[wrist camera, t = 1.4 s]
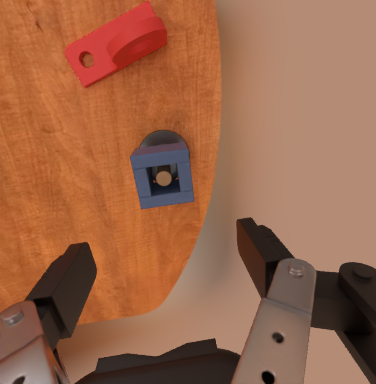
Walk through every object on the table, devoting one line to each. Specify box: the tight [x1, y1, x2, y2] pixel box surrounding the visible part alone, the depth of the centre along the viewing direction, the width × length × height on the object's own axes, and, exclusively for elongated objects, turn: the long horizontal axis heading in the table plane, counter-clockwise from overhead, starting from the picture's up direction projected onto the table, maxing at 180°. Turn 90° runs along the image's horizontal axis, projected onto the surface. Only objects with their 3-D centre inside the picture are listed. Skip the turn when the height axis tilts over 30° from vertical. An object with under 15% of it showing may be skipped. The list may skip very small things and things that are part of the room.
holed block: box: [130, 142, 194, 209], centre depth 24 cm, size 6×6×4 cm
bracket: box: [65, 0, 167, 88], centre depth 24 cm, size 12×4×8 cm, turn 116°
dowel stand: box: [139, 130, 190, 186], centre depth 28 cm, size 8×8×12 cm
